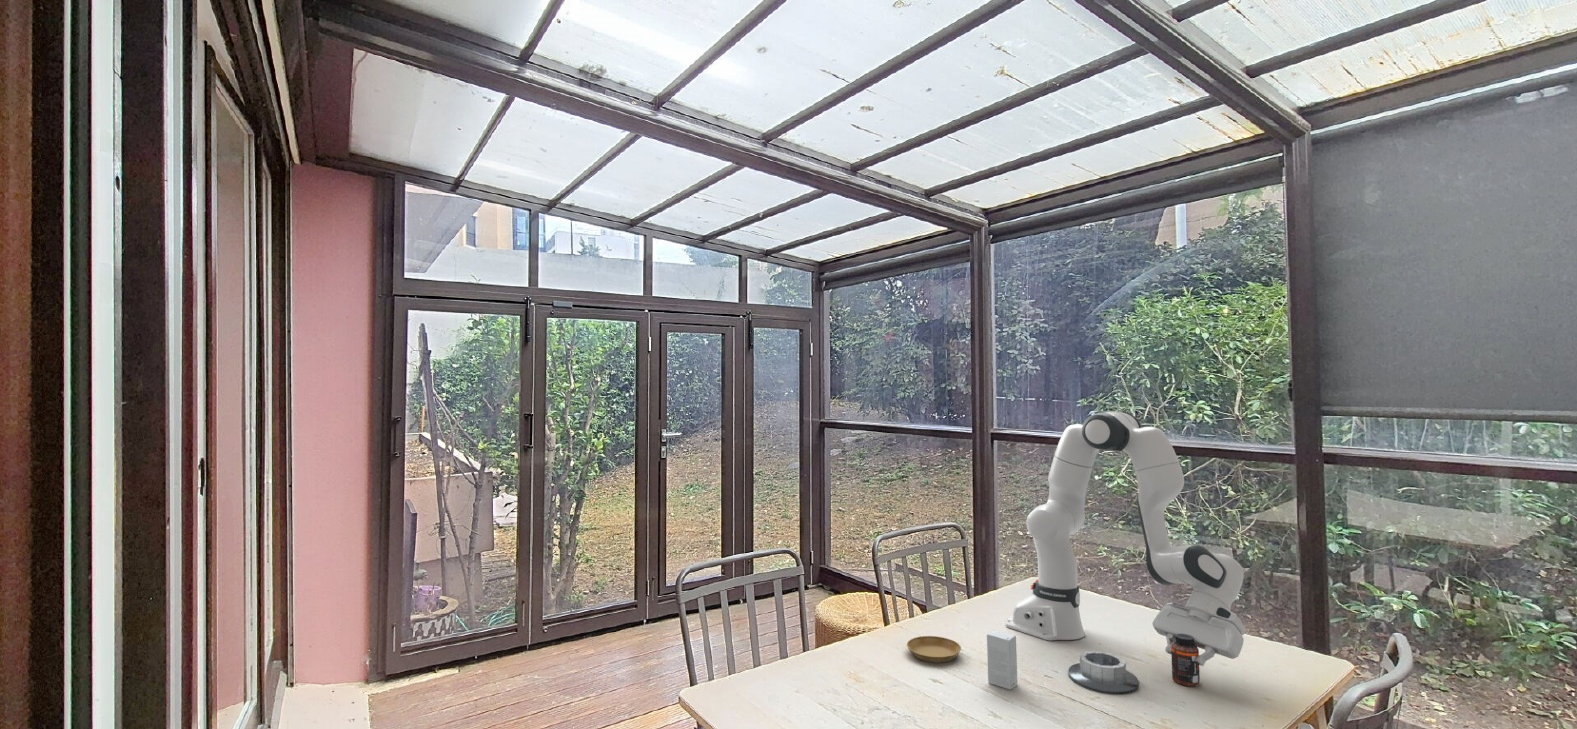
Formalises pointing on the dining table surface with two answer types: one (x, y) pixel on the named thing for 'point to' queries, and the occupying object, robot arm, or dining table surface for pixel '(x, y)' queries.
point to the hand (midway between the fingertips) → (1183, 658)
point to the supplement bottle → (1185, 661)
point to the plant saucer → (934, 648)
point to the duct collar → (1103, 673)
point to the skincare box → (1002, 659)
